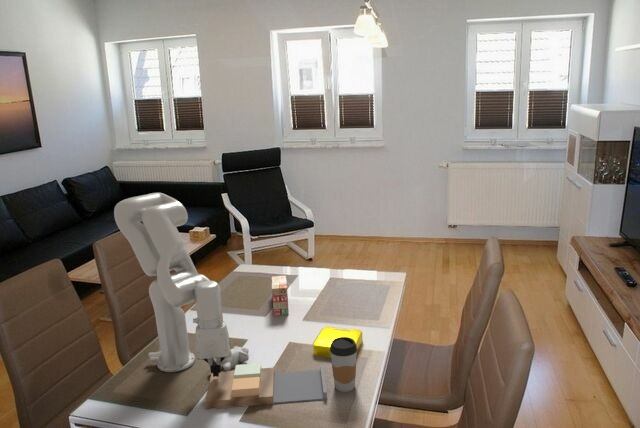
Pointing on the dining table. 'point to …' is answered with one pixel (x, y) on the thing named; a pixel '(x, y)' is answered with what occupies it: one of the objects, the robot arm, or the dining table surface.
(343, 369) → the coffee cup
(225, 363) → the bunny figurine
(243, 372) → the sage tile
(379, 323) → the dining table surface
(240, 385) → the light orange flat block
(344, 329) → the element tile
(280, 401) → the grey square tray
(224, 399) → the board
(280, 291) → the stack of blocks
